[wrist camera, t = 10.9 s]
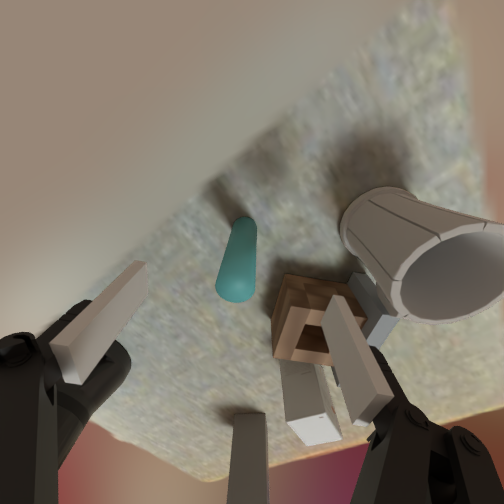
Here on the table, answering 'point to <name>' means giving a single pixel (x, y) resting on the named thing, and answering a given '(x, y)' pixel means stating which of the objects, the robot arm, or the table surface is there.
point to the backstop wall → (370, 312)
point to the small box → (308, 403)
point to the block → (307, 318)
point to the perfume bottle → (249, 461)
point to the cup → (425, 256)
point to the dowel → (239, 263)
